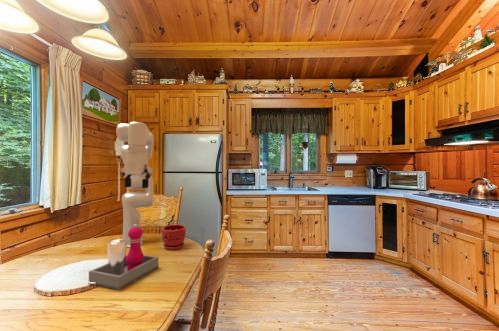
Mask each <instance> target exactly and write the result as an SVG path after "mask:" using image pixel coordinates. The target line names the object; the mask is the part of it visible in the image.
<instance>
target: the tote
mask: <svg viewBox="0 0 499 331" xmlns="http://www.w3.org/2000/svg"><path fill="white" fill-rule="evenodd" d="M143 255H144V259H143V261H142V264H141V265H139V266H137V267H135V268H133V269H131V270H129V271H128V270H127V265H128V263H127V262H126V258H125V263H124V273H123V274H121V275H114V274H109V264H108V263H105V264H103V265H101V266H98V267H96V268H93V269H91V270H89V271H88V282H89V281H90V282H96V287H102V288H104V289H109V290H110V289H111V290H114V291H121V290H123V289H125V287H127V286H129V285H131V284H133V283H134V282H137V281H138V280H140V279H141V278H143V277H145V276H147V275H149V274H150V273H152V272H154V271H156V270H157V269H159V258H160V257H159V256H155V255H147V254H143ZM126 257H127V254H126Z"/></svg>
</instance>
